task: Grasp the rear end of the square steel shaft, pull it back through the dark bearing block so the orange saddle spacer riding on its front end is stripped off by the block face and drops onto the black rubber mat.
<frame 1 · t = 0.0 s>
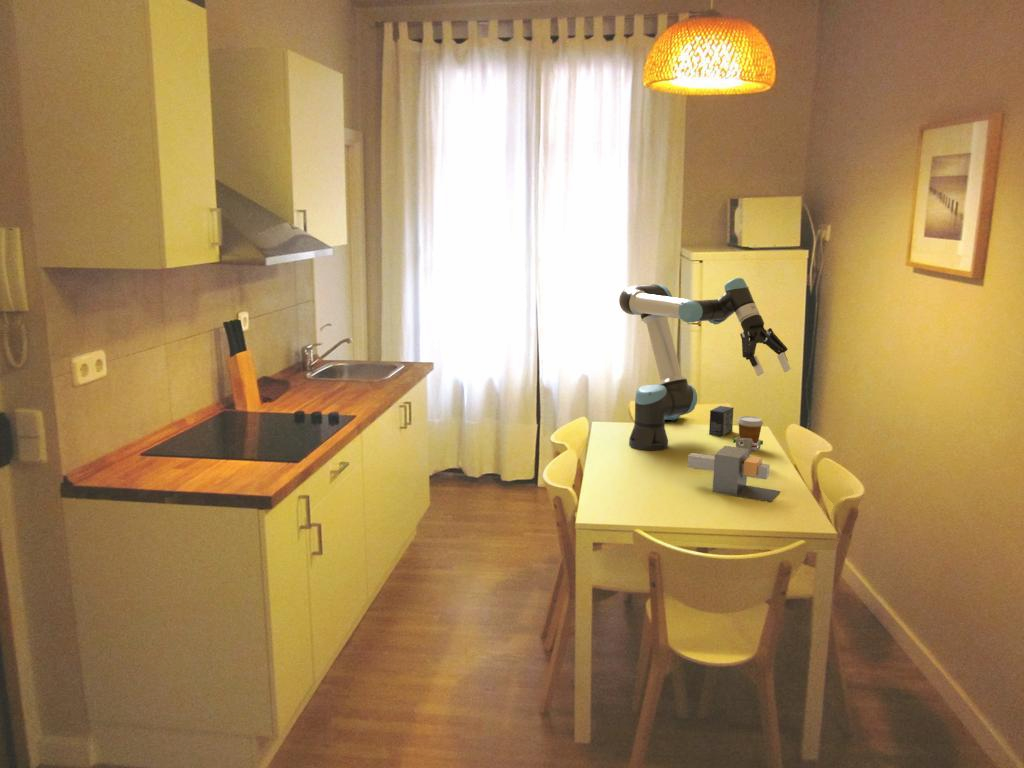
hand: (774, 372, 293), 36 cm above the table, tool tilted 35°, fingers open, 13 cm apart
disposable coffee cup: (748, 449, 330), on the table
mechanical component: (746, 466, 307), on the table
bearing block: (729, 489, 281), on the table
small box: (720, 433, 353), on the table
decorative pot: (662, 419, 376), on the table
mat: (756, 494, 277), on the table
shaft: (728, 465, 280), point 8 cm above the table, slide at 0.0 cm, touching spacer
spacer: (752, 472, 276), point 7 cm above the table, touching shaft
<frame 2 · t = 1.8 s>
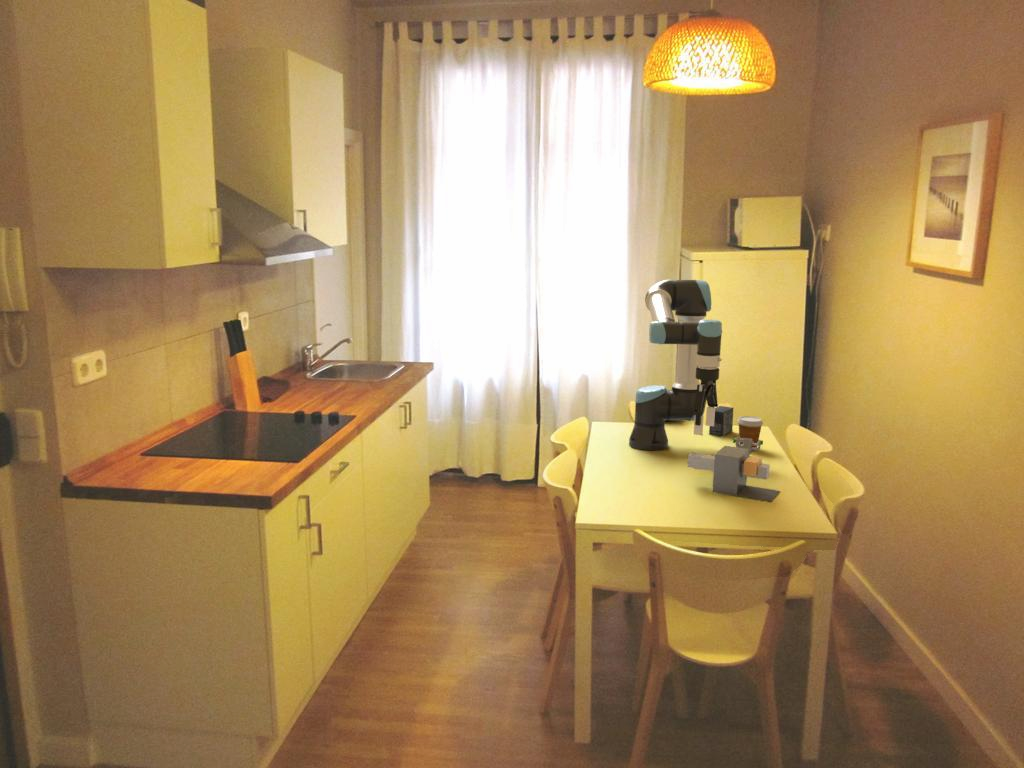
hand: (704, 430, 282), 19 cm above the table, tool pointing down, fingers open, 13 cm apart
nothing on the table moved.
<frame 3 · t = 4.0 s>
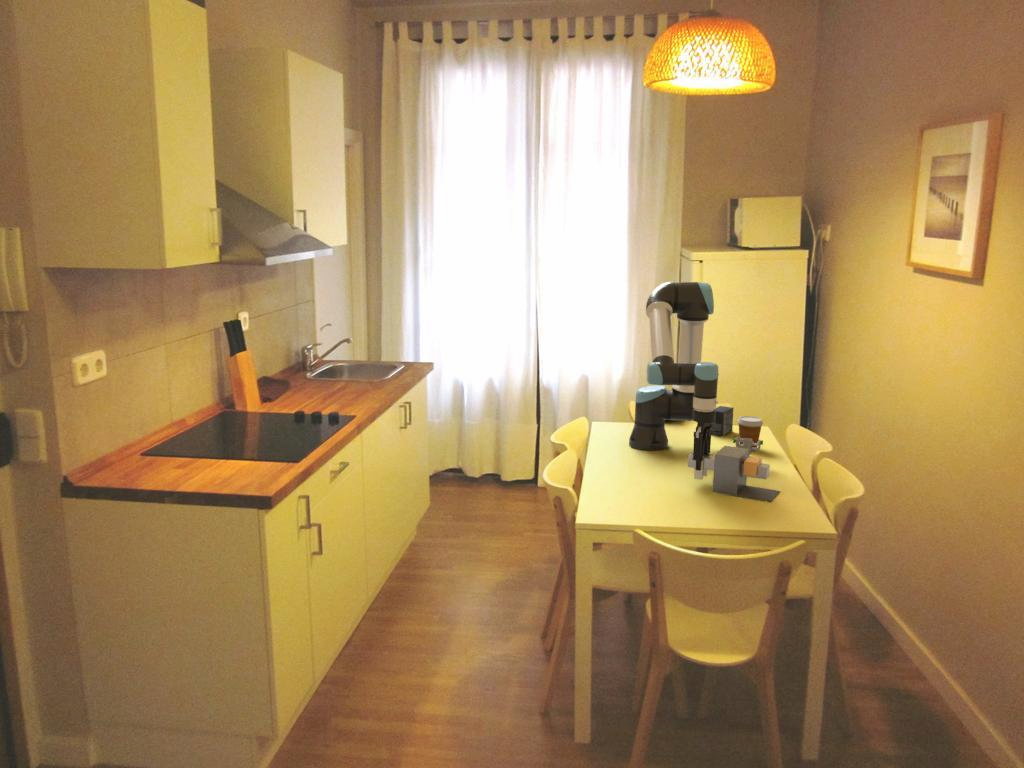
hand: (700, 476, 285), 3 cm above the table, tool pointing down, fingers closed on shaft, 4 cm apart
shaft: (728, 465, 280), point 8 cm above the table, slide at 0.0 cm, touching gripper, spacer
everything else where it was.
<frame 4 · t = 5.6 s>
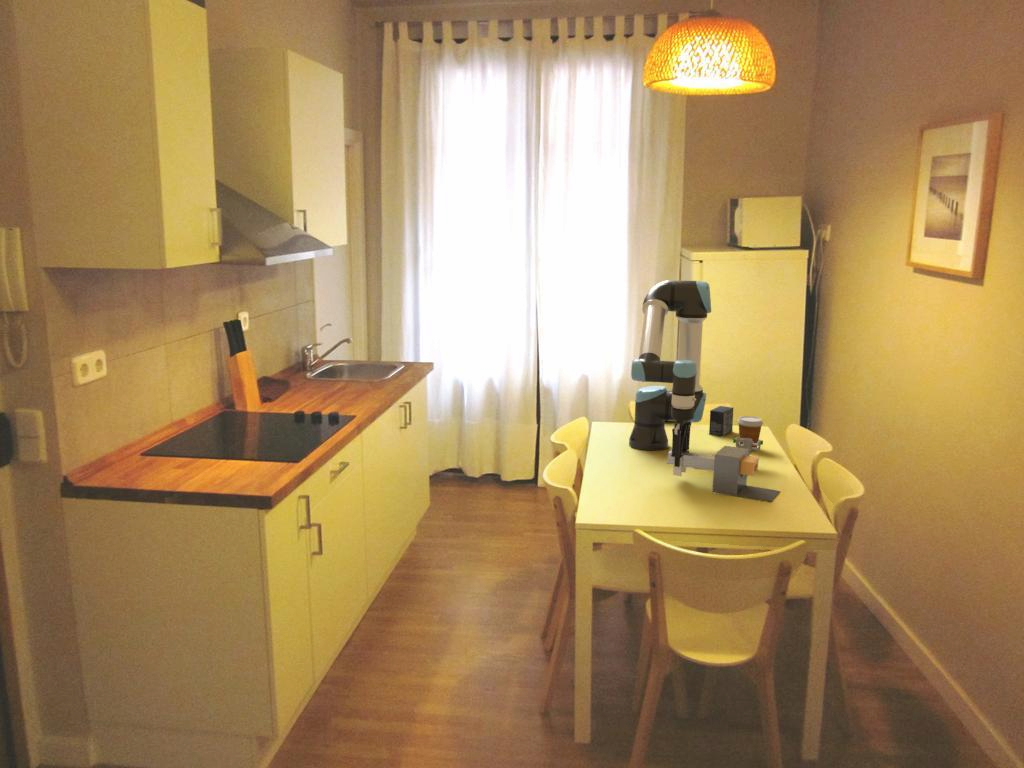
hand: (679, 473, 289), 3 cm above the table, tool pointing down, fingers closed on shaft, 4 cm apart
shaft: (707, 462, 283), point 8 cm above the table, slide at 7.1 cm, touching gripper, spacer
spacer: (749, 472, 277), point 7 cm above the table, touching bearing block, shaft
everything else where it was.
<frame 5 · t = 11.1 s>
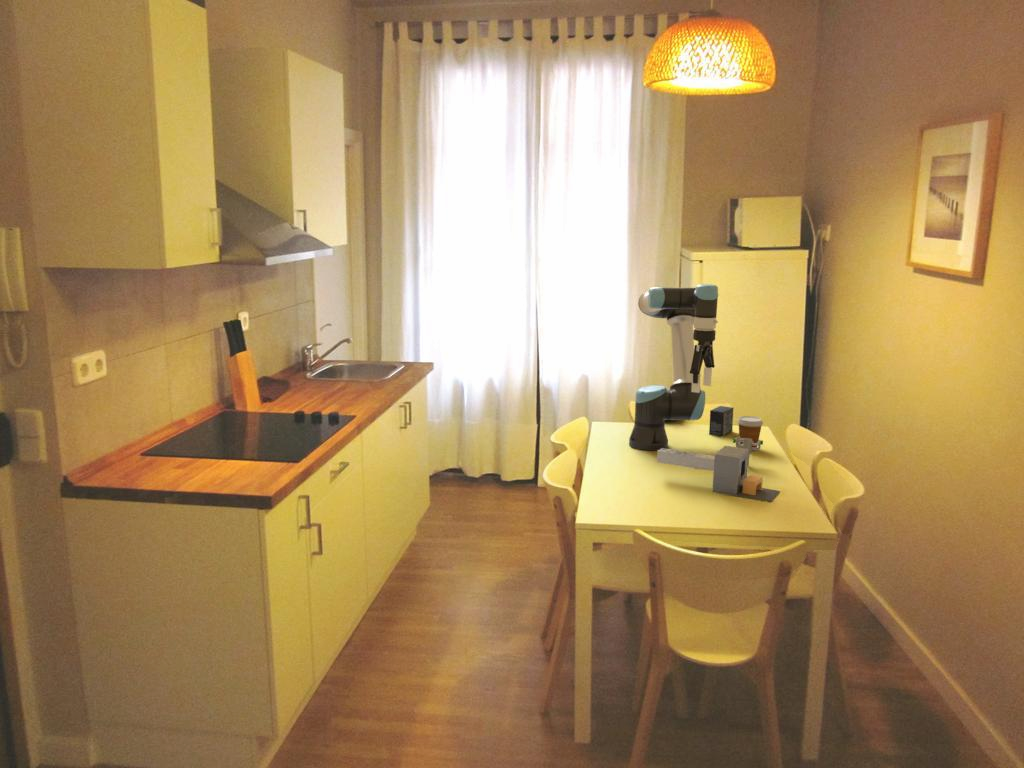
hand: (701, 388, 299), 29 cm above the table, tool pointing down, fingers open, 13 cm apart
shaft: (696, 460, 285), point 8 cm above the table, slide at 10.7 cm
spacer: (752, 491, 278), resting on mat
everything else where it was.
at the end: spacer resting on mat; shaft slide at 10.7 cm; spacer 1.9 cm from the mat (horizontally) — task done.
